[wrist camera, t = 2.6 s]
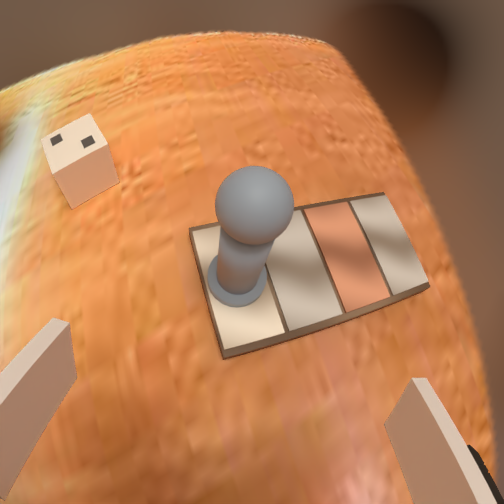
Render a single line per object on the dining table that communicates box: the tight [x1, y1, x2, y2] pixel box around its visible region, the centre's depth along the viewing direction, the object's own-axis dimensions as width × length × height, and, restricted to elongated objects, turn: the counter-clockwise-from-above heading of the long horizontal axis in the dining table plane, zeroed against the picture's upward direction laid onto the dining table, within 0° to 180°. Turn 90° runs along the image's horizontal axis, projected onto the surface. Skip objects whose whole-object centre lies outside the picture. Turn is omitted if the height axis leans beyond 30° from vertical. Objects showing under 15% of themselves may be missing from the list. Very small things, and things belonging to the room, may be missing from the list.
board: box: [189, 192, 430, 360], centre depth 30 cm, size 12×22×2 cm, turn 107°
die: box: [40, 113, 119, 209], centre depth 29 cm, size 6×6×6 cm
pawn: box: [208, 166, 294, 308], centre depth 21 cm, size 5×5×13 cm
